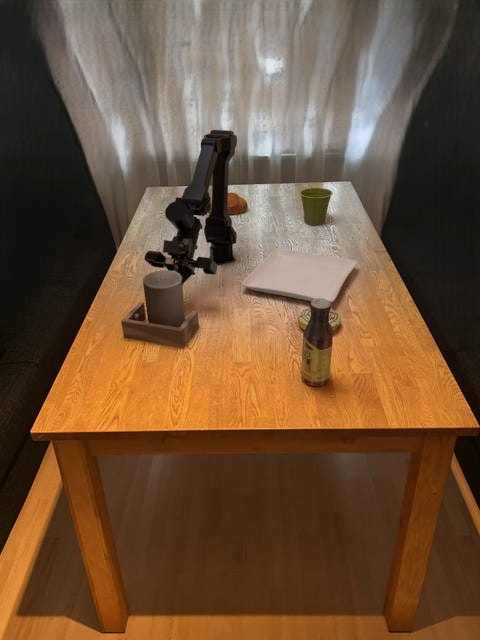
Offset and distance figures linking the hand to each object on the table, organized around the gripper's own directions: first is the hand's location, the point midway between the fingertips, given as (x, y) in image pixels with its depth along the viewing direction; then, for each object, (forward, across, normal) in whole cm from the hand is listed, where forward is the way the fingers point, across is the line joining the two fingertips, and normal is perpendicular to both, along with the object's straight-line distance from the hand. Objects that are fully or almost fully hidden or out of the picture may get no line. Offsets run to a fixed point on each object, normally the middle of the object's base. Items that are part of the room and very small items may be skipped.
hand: (173, 293), depth 137 cm
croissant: (-51, -14, +61) cm, 81 cm away
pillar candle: (+8, 0, +2) cm, 9 cm away
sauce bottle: (+16, +41, -6) cm, 45 cm away
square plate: (-15, +28, +25) cm, 40 cm away
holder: (+10, 0, -1) cm, 10 cm away
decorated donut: (+1, +38, +9) cm, 39 cm away
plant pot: (-48, +22, +58) cm, 79 cm away
